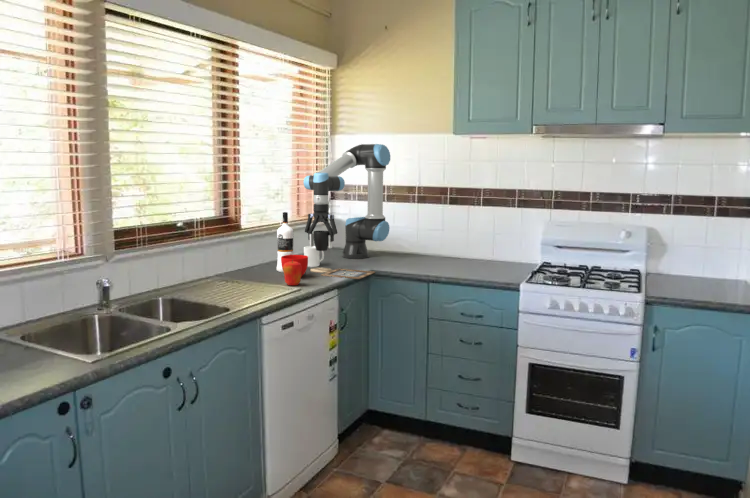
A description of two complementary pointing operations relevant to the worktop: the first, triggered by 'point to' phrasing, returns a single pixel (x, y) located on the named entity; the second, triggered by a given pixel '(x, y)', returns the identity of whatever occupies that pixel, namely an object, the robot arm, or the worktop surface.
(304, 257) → the ceramic cup
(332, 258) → the worktop surface
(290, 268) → the apple
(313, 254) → the cup
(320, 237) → the mug
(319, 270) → the coaster
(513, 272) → the worktop surface
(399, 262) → the worktop surface
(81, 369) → the worktop surface
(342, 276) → the brown wooden frame
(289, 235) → the vodka
